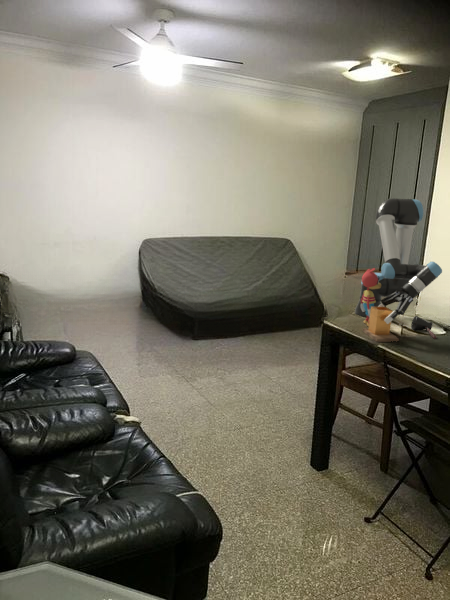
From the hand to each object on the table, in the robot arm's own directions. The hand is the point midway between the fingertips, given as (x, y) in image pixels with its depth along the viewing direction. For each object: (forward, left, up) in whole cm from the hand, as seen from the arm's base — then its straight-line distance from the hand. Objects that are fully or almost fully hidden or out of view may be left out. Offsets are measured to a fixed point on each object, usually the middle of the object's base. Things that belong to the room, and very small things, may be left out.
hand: (379, 318), depth 234 cm
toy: (-17, +4, -9) cm, 20 cm away
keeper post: (+2, +1, -9) cm, 9 cm away
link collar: (0, 0, -7) cm, 7 cm away
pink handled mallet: (-4, +26, -9) cm, 28 cm away
